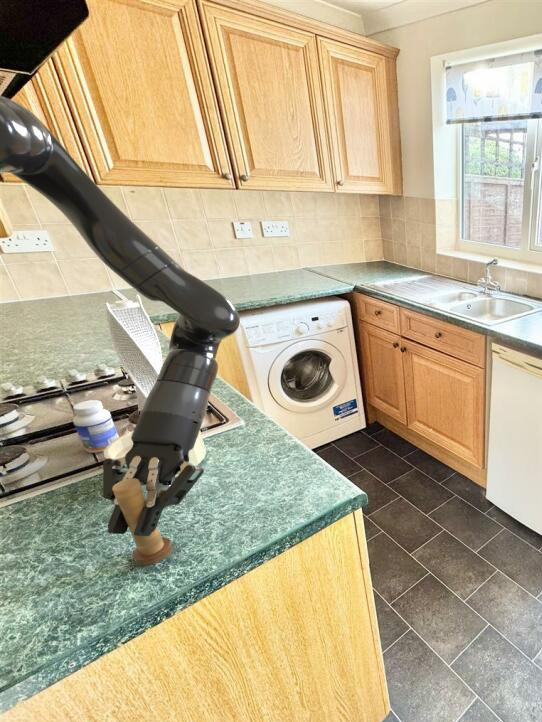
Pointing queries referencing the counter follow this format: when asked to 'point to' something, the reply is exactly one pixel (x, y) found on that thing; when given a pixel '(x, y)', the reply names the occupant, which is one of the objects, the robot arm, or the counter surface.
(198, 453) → the bowl
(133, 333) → the skyscraper
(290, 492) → the counter surface
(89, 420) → the pill bottle
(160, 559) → the tan cylinder
